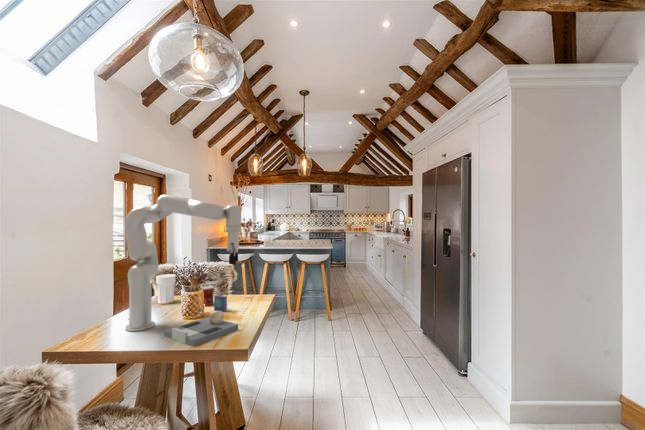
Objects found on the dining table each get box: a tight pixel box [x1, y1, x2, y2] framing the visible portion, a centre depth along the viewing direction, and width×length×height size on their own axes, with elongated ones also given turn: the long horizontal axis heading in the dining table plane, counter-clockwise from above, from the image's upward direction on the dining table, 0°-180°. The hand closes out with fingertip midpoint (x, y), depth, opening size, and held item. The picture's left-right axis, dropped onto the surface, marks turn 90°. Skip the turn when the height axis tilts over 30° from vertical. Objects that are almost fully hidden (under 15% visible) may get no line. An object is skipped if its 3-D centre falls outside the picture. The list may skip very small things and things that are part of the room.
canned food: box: [201, 285, 214, 307], centre depth 196 cm, size 8×8×11 cm
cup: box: [155, 273, 177, 305], centre depth 202 cm, size 11×11×17 cm
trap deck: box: [163, 316, 239, 347], centre depth 147 cm, size 22×24×4 cm
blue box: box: [213, 292, 228, 313], centre depth 183 cm, size 9×3×11 cm, turn 63°
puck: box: [209, 310, 224, 325], centre depth 154 cm, size 6×6×5 cm
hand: (233, 262), depth 161 cm, fingers open, 9 cm apart
